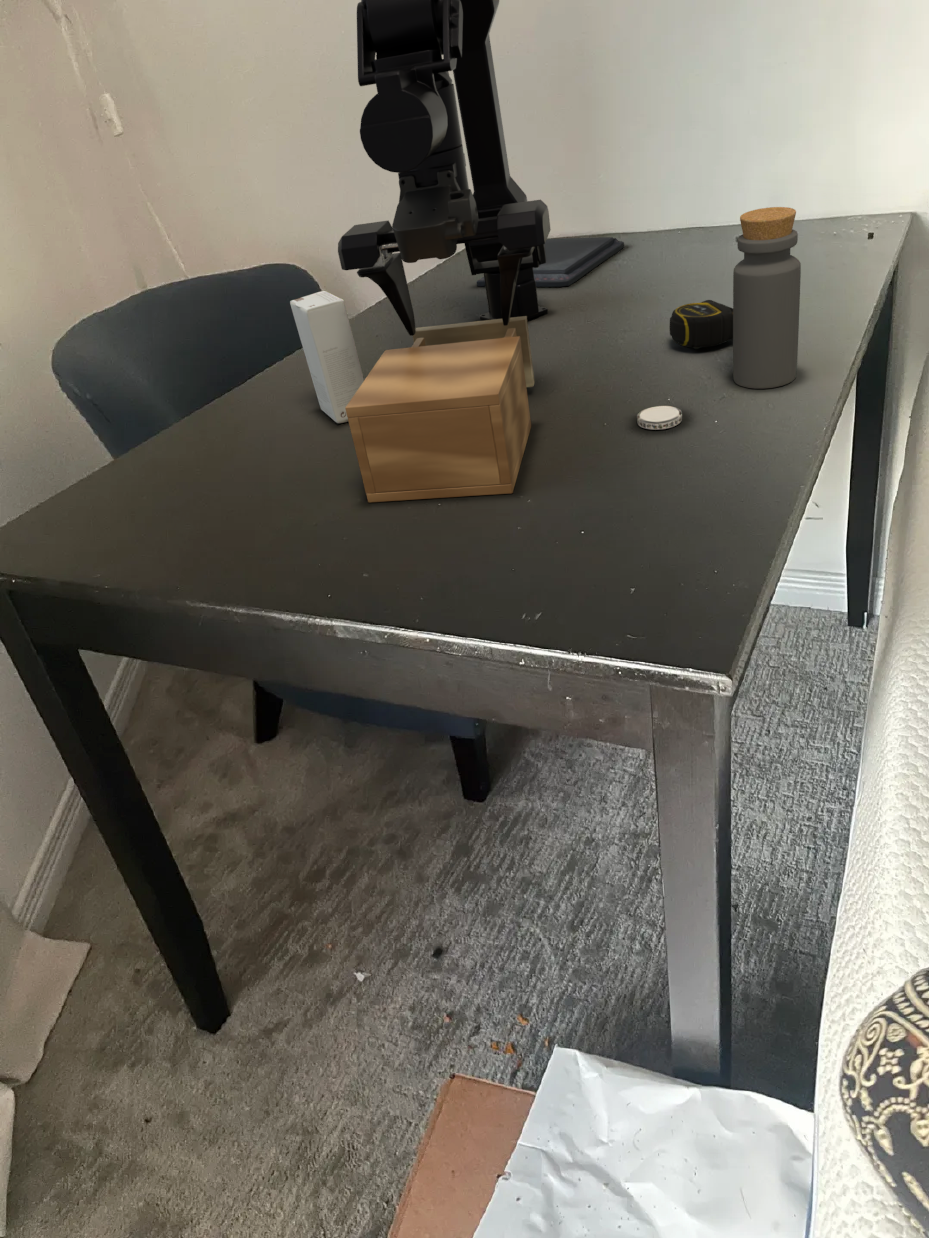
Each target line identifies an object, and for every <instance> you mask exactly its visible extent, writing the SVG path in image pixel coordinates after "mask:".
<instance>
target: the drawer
mask: <svg viewBox="0 0 929 1238" xmlns="http://www.w3.org/2000/svg"><path fill="white" fill-rule="evenodd" d="M415 328H416V333H415V334H414V335H413V336H412V340H413V344H412V345H411V347H420V346H430V345H439V344H449V343H459V342H469V341H478V340H488V339H498V338H507V337H517V336H520V340H521V349H522V357H523V364H524V372H525V380H526V388H533V387H534V385H535V372H534V365H533V357H532V349H531V341H530V333H529V332H530V331H529V325H528V320H527V316H522V317H512V318H510V319H509V323H508V325H507V326H504V325H503V320H502V319H494V320H485V321H483V320H477V321H475V320H474V321H467V322H457V323H449V324H439V325H438V324H437V325H429V326H422V327H421V326H420V327H415Z"/></svg>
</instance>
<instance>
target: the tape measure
mask: <svg viewBox="0 0 929 1238" xmlns="http://www.w3.org/2000/svg"><path fill="white" fill-rule="evenodd" d="M669 335H670V337H671V339H672V341H673V342H674V343H676V345H677V344H678V345H680V346H683V347H686V348H687V347H688V348H692V349H695V350H699V349H700V348H710V347H716V346H719V345H722V344H723V343H726V342H728V341H731V340H733V307H730V306H728V305H725V304H723V303H720V302H717V301H715V300H712V299H705V300H703V301H700V302H690V303H686V304H683V305H679V306H678V307H676V308H675V309H674V310H672V313H671V316H670V318H669Z"/></svg>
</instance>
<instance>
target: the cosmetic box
mask: <svg viewBox="0 0 929 1238" xmlns="http://www.w3.org/2000/svg"><path fill="white" fill-rule="evenodd" d="M289 304H290V307H291V312H292V315H293V319H294V322H295V326H296V329H297V331H298V332H297V333H298V335H299V339H300V343H301V345H302V350H303V353H304V356H305V360H306V364H307V367H308V370H309V374H310V377H311V380H312V384H313V387H314V390H315V393H316V394H315V395H316V397H317V401H318V404H319V405H318V406H319V408H320V411H322V412H323V413H325V415H327V416H328V417H329V418H331V419H332V420H333V421H334V422H335V423H336V424H343V423H347V422H348V417H347V413H346V409H345V407H346V406H347V404H348V403H349V402H350V400H351V399H352V397H353V396H354V394H355V393H356V392H357V390H358V389H359V387H360V386H361V384H362V383H363V382H364V380H365V378H364V374H363V370H362V366H361V362H360V358H359V354H358V350H357V346H356V341H355V339H354V336H353V335H354V334H353V330H352V327H351V323H350V319H349V316H348V312H347V307H346V302H345V300H344V299H342V298H341V297H338V296H336V295H334V294H332V293H330V292H329V291H327V290H321V291H318V292H314V293H311V294H308V295H305V296H301V297H298V298H295V299H292V300H290V301H289ZM348 423H349V422H348Z"/></svg>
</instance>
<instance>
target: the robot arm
mask: <svg viewBox="0 0 929 1238" xmlns="http://www.w3.org/2000/svg"><path fill="white" fill-rule="evenodd" d="M499 5H500V0H360V1H359V2H358V3H357V4H356V52H357V53H356V54H357V82H358V85H359V87H365V86H372V85H375V87H376V92H377V93H376V94H375V95H374V96H373V97H372V98H371V99H370V100H369V101H368V102H367V104H366V105H365V107H364V109H363V112H362V115H361V117H360V125H359V126H360V128H359V136H360V141H361V144H362V148H363V149H364V151H365V153H366V154H367V156H368V157H369V158H370V160H371V161H372V162H373V163H374V164H375V165H377V167H379V168H381V169H382V170H384V171H388V172H390V173H397V177H398V186H399V198H398V204H397V206H396V209H395V214H394V217H393V221H392V224H391V222H390V221H389V220H382V221H375V222H367V223H360V224H354V225H353V226H352V227H350V229H348V230H347V231H346V232H345V233H344V234H342V235H341V237H340V239H339V241H338V242H337V254H338V259H339V263H340V267H341V270H342V271H353V270H357V271H356V275H357V276H358V277H359V278H367V279H369V280H371V282H373V283H375V284H376V285H377V286H378V287H379V288H380V289H381V291H382V292H383V294H384V295H385V296H386V297H387V299H388V301H389V303H390V304H391V306H392V308H393V309H394V311H395V313H396V314H397V316H398V318H399V321H401V323H402V325H403V327H404V328H405V330H406V332H407V334H408V335H409V336H410V337H413V335H414V334H415V333H416V328H417V327H416V319H415V313H414V308H413V304H412V299H411V294H410V291H409V290H410V289H409V285H408V281H407V277H406V272H405V267H404V263H405V264H415V263H417V262H419V261H420V260H428V259H437V260H445V259H449V258H452V257H453V256H454V255H455V254H456V252H457V248H458V245H462V244H464V249H465V252H466V258H467V261H468V262H467V263H468V265H469V270H470V275H471V276H477V275H482V274H483V277H484V280H485V286H484V288H485V293H486V300H487V307H488V312H485V313H483V314H480V315H479V321H485V320H494V319H502V320H503V325H504V326H507V325H508V323H509V319H510V318H512V317H522V316H527V321H528V320H531V319H535V318H536V317H539V316H542V315H545V314H547V313H548V312H549V311H548V310H549V309H548V307H545V306H540V305H539V301H538V300H539V299H538V291H537V287H536V282H535V280H534V273H533V267H534V268H539V265H541V264H544V263H546V254H545V246H544V244H545V242H546V240H547V239H548V238H549V236H550V235H549V234H550V232H551V230H552V229H551V221H550V210H549V208H548V205H547V204H546V203H545V202H544V201H543V200H542V199H533V200H528V197H527V194H526V193H525V192H524V190H522V188H521V187H520V186H519V185H518V184H517V182H516V181H515V180H514V179H513V177H512V176H511V172H510V166H509V160H508V159H509V158H508V153H507V147H506V139H505V133H504V132H505V131H504V127H503V119H502V113H501V106H500V98H499V93H498V86H497V79H496V78H497V77H496V71H495V65H494V64H495V63H494V60H493V59H494V58H493V52H492V51H493V50H492V45H491V37H490V32H491V29H492V26H493V23H494V20H495V17H496V14H497V11H498V8H499ZM449 72H452V73H453V79H452V78H451V76H450V73H449ZM453 80H454V83H453ZM455 90H456V91H455ZM456 96H457V98H456ZM457 101H458V102H457ZM457 103H458V104H457ZM458 107H459V108H458ZM458 109H459V112H458ZM459 113H460V117H459ZM459 118H460V119H461V125H462V131H463V136H464V137H463V138H464V143H465V147H466V154H467V161H468V165H469V170H470V177H471V182H472V188H473V191H472V189H471V188H470V187H469V181H468V180H469V179H468V174H467V173H468V172H467V162H466V155H465V152H464V147H463V146H464V145H463V139H462V133H461V125H460V119H459ZM403 262H404V263H403Z"/></svg>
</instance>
